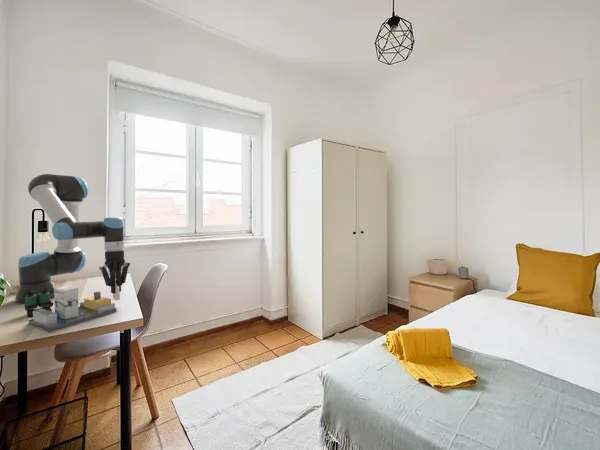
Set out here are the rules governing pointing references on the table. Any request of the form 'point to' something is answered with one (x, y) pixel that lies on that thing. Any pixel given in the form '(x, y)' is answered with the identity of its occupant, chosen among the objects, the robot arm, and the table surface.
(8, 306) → the table surface
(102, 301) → the press jaw
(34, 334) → the table surface
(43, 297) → the binoculars
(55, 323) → the press bed
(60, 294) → the ink box
